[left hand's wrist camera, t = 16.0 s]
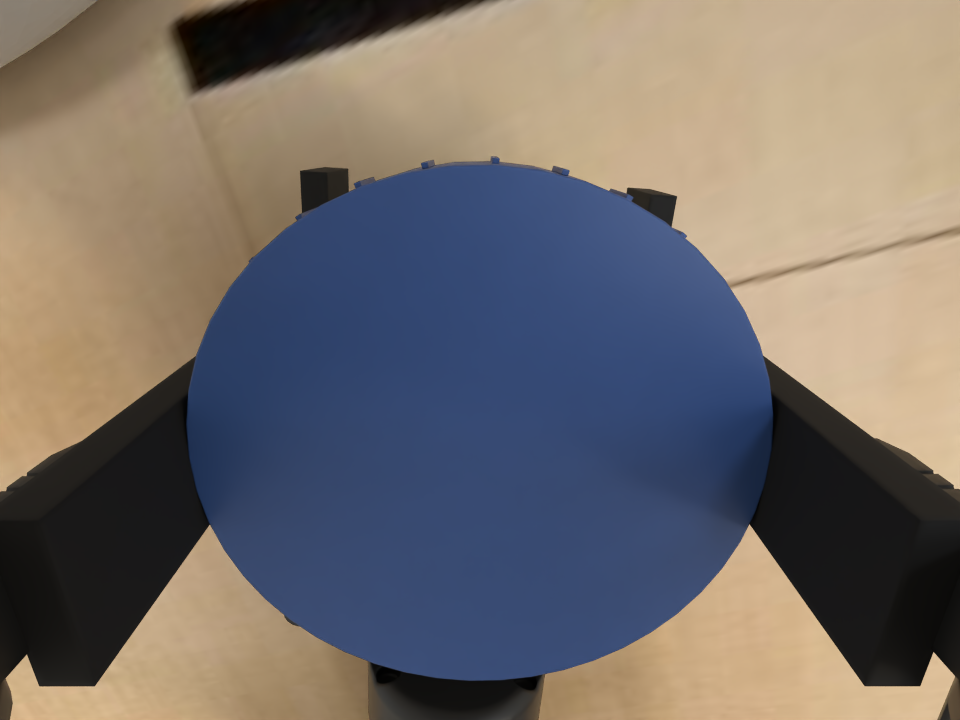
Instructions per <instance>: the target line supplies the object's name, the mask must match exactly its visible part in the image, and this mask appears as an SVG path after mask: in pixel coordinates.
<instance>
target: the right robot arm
mask: <svg viewBox="0 0 960 720" xmlns="http://www.w3.org/2000/svg"><path fill="white" fill-rule="evenodd" d="M300 178H301V199H302V213H304V212H307V211H309V210H312V209H314V208H317V207H319V206H320V205H322V204H324V203H326V202H329V201H331V200H333V199H335V198H337V197H339V196H341V195H343V194H346V193H348V192H349V186H348V169H343V168H329V167H323V168H316V169H310V170H303V171H300ZM627 194H629V195H630V196H632V197H633V199H632V202H633V203H635V204H637V205H638V206H640V207H642V208H643V209H645V210H646V211H648V212H650V213H651V214H653V215H655V216H656V217H658V218H660V219H661V220H663V221H665V222H666V223H667V224H668V225H669V226H672V221H673V215H674V210H675V205H676V199H677V196H674V195H670V194H666V193H663V192H659V191H655V190H651V189H639V188H627ZM284 616H285V615H284ZM285 618H286V620H287V621H288V622H289V623H291V624H293V625H296V626H299V625H297V624H296V623H294V622H293V621H291V620H290V619H289V618H287V617H286V616H285ZM544 676H545V674H542V675H537V676H533V677H524V678H515V679H506V680H474V681H468V680H455V679H443V678H434V677H428V676H423V675H417V674H412V673H406V672H402V671H399V670H395V669H392V668H388V667H385V666H381V665H378V664H374V663H372V662H369V661H368V699H369V720H538V718H539V711H540V704H541V697H542V690H543V683H544Z"/></svg>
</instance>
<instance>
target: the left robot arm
mask: <svg viewBox="0 0 960 720" xmlns="http://www.w3.org/2000/svg"><path fill="white" fill-rule="evenodd" d="M763 358H764V362H765V365H766V369H767V373H768V376H769V381H770V390H771V399H772V408H773V435H772V451H771V456H770V461H769V465H768V470H767V475H766V480H765V484H764V488H763V491H762V494H761V497H760V500H759V503H758V506H757V508H756V511H755V514H754V516H753V518H752V520H751V522H750V525H751V527H752V528H753V530H754V531H755V532H756V534H757V535H758V537H759V538H760V539H761V541H762V542H763V544H764V545H765V546H766V548H767V549H768V551H769V552H770V553H771V555H772V556H773V558H774V559H775V560H776V562H777V563H778V565H779V566H780V568H781V569H782V570H783V572H784V573H785V575H786V576H787V577H788V579H789V580H790V582H791V583H792V584H793V586H794V587H795V589H796V590H797V591H798V593H799V594H800V596H801V597H802V598H803V600H804V601H805V603H806V604H807V606H808V607H809V608H810V610H811V611H812V613H813V614H814V615H815V617H816V618H817V620H818V621H819V622H820V624H821V625H822V627H823V628H824V629H825V631H826V632H827V634H828V635H829V636H830V638H831V639H832V641H833V642H834V644H835V645H836V646H837V648H838V649H839V651H840V652H841V653H842V655H843V656H844V658H845V659H846V660H847V662H848V663H849V665H850V666H851V667H852V669H853V670H854V672H855V673H856V674H857V676H858V677H859V679H860V680H861V682H862V683H863V684H864V686H920V685H921V683H922V680H923V677H924V675H925V672H926V670H927V667H928V665H929V662H930V659H931V657H932V654H933V652H934V653H935V654H936V655H937V656H938V657H939V658H940V660H941V661H942V662H943V663H944V664H945V665H946V666H947V667H948V668H949V670H950V671H951V672H952V673H953V674H954V675H955V679H954V681H953V683H952V686H951V688H950V691H949V693H948V695H947V698H946V700H945V703H944V705H943V708H942V710H941V712H940V715H939V717H938V720H960V489H954V487H953V486H954V485H953V484H951V483H950V482H948V481H947V480H946V479H944V478H943V477H941V476H940V475H939V474H934V473H933V470H932V469H930V468H929V467H928V466H926V465H925V464H923V463H922V462H921V461H919V460H918V459H916V458H915V457H914V456H912V455H911V454H909V453H908V452H905V451H903V450H901V449H899V448H897V447H895V446H892V445H890V444H888V443H886V442H884V441H881V440H879V439H877V438H873V437H871V436H870V435H869V434H867V433H866V432H865V431H863V430H862V429H861V428H859V427H858V426H857V425H855V424H854V423H853V422H851V421H850V420H849V419H847V418H846V417H845V416H843V415H842V414H841V413H839V412H838V411H837V410H835V409H834V408H833V407H831V406H830V405H829V404H827V403H826V402H825V401H823V400H822V399H821V398H819V397H818V396H816V395H815V394H814V393H812V392H811V391H810V390H808V389H807V388H806V387H804V386H803V385H802V384H800V383H799V382H798V381H796V380H795V379H794V378H792V377H791V376H790V375H788V374H787V373H786V372H784V371H783V370H782V369H780V368H779V367H778V366H776V365H775V364H774V363H772V362H771V361H770V360H768V359H767V358H766V357H764V356H763ZM195 359H196V356H195V357H194V358H193V359H191V360H190V361H189V362H187V363H186V364H185V365H183V366H182V367H181V368H179V369H178V370H177V371H175V372H174V373H173V374H171V375H170V376H169V377H167V378H166V379H165V380H163V381H162V382H161V383H159V384H158V385H157V386H155V387H154V388H153V389H151V390H150V391H148V392H147V393H146V394H144V395H143V396H142V397H140V398H139V399H138V400H136V401H135V402H134V403H132V404H131V405H130V406H128V407H127V408H126V409H124V410H123V411H122V412H120V413H119V414H118V415H116V416H115V417H114V418H112V419H111V420H110V421H108V422H107V423H106V424H104V425H103V426H102V427H100V428H99V429H97V430H96V431H95V432H93V433H92V434H91V435H89V436H88V437H87V438H85V439H84V440H83V441H81V442H79V443H77V444H75V445H72V446H70V447H68V448H66V449H64V450H62V451H59V452H57V453H55V454H53V455H51V456H50V457H48V458H47V459H45V460H44V461H43V462H41V463H40V464H39V465H37V466H36V467H34V468H33V469H32V470H30V471H29V472H27V476H22V477H21V478H19V479H18V480H16V481H15V482H14V483H12V484H11V485H10V486H8V487H7V490H6V491H1V492H0V720H10V716H11V710H12V704H13V702H12V696H11V691H10V688H9V686H8V683H7V681H6V679H5V678H6V677H7V676H8V675H9V674H10V673H11V671H12V670H13V669H14V668H15V667H16V666H17V665H18V664H19V662H20V661H21V660H22V659H23V658H24V657H25V656H26V655H27V656H28V658H29V661H30V663H31V666H32V668H33V671H34V674H35V676H36V679H37V681H38V684H39V686H95V685H96V684H97V682H98V681H99V680H100V678H101V677H102V675H103V674H104V673H105V671H106V670H107V668H108V667H109V666H110V664H111V663H112V661H113V660H114V658H115V657H116V656H117V654H118V653H119V651H120V650H121V649H122V647H123V646H124V644H125V643H126V642H127V640H128V639H129V637H130V636H131V635H132V633H133V632H134V630H135V629H136V628H137V626H138V625H139V623H140V622H141V620H142V619H143V618H144V616H145V615H146V613H147V612H148V611H149V609H150V608H151V606H152V605H153V604H154V602H155V601H156V599H157V598H158V597H159V595H160V594H161V592H162V591H163V590H164V588H165V587H166V585H167V584H168V582H169V581H170V580H171V578H172V577H173V575H174V574H175V573H176V571H177V570H178V568H179V567H180V566H181V564H182V563H183V561H184V560H185V559H186V557H187V556H188V554H189V553H190V552H191V550H192V549H193V547H194V546H195V544H196V543H197V542H198V540H199V539H200V537H201V536H202V535H203V533H204V532H205V530H206V529H207V528H208V526H209V525H210V523H209V522H208V519H207V516H206V514H205V511H204V509H203V506H202V504H201V501H200V498H199V496H198V493H197V491H196V486H195V482H194V477H193V473H192V468H191V464H190V459H189V452H188V441H187V429H186V420H187V406H188V391H189V386H190V381H191V377H192V372H193V368H194V364H195Z"/></svg>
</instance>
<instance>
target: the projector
mask: <svg viewBox="0 0 960 720" xmlns="http://www.w3.org/2000/svg"><path fill="white" fill-rule="evenodd" d="M96 1H97V0H0V68H2V67H3V66H5V65H6V64H8V63H10V62H11V61H13V60H15V59H16V58H18V57H20V56H21V55H23V54H25V53H26V52H28V51H30V50H31V49H33V48H34V47H36V46H37V45H38V44H40V43H41V42H43V41H44V40H46V39H47V38H49V37H50V36H52V35H53V34H55V33H56V32H58V31H59V30H60V29H62V28H63V27H64V26H65V25H67V24H68V23H69V22H71V21H72V20H73V19H74V18H76V17H77V16H78V15H80V14H81V13H82V12H83V11H85V10H86V9H87V8H89V7H90V6H91V5H92V4H94V3H95V2H96Z"/></svg>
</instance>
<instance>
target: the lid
mask: <svg viewBox="0 0 960 720" xmlns="http://www.w3.org/2000/svg"><path fill="white" fill-rule="evenodd" d="M421 166H422V167H421V168H416V169H412V170H409V171H406V172H403V173H399V174H396V175H393V176H390V177H386V178H383V179H380V180H377V181H375V179H374V177H372V178H368V179H365V180H362V181H359V182H356V183H354V185H355V188H356V189H354V190H352V191H350V192H348V193H346V194H343V195H341V196H339V197H337V198H335V199H333V200H331V201H329V202H326V203H324V204H322V205H320V206H319V207H317V208H314V209H312V210H309V211H307V212H304V213H301V214H299V215H298V216H296V217H295V218H296V219H297V221H296V222H295V223H293V224H292V225H290V226H289V227H287V228H286V229H285V230H284V231H282V232H281V233H280V234H279V235H278V236H277V237H276V238H275V239H274V240H272V241H271V242H270V243H269V244H268V245H267V246H266V247H265V248H264V249H262V250H261V251H260V252H259V253H258V254H257V255H256V256H254V257H252V258H251V259H250V261H249V264H248V265H247V267H246V268H245V269H244V270H243V271H242V273H241V274H240V275H239V276H238V278H237V279H236V280H235V281H234V282H233V284H232V285H231V286H230V287H229V289H228V291H227V292H226V294H225V296H224V298H223V299H222V301H221V303H220V304H219V306H218V308H217V309H216V311H215V313H214V315H213V316H212V318H211V320H210V322H209V324H208V327H207V329H206V332H205V334H204V337H203V340H202V342H201V345H200V347H199V350H198V352H197V355H196V359H195V364H194V368H193V372H192V377H191V381H190V386H189V391H188V406H187V420H186V429H187V441H188V452H189V459H190V464H191V468H192V473H193V477H194V482H195V486H196V491H197V493H198V496H199V498H200V501H201V504H202V506H203V509H204V511H205V514H206V516H207V519H208V522H209V523H210V525H211V527H212V529H213V531H214V532H215V534H216V536H217V538H218V540H219V541H220V543H221V545H222V547H223V549H224V550H225V552H226V553H227V554H228V556H229V557H230V558H231V560H232V561H233V562H234V564H235V565H236V567H237V568H238V569H239V571H240V572H241V573H242V575H243V576H244V577H245V578H246V579H247V580H248V581H249V582H250V583H251V584H252V586H253V587H254V588H255V589H256V590H257V591H258V592H259V593H260V594H261V595H262V596H263V597H264V598H265V599H266V600H267V601H268V602H269V603H271V604H272V605H273V606H274V607H275V608H277V609H278V610H279V611H280V612H281V613H283V614H284V615H285V616H286V617H287V618H289V619H290V620H291V621H293V622H294V623H296V624H297V625H299V626H300V627H302V628H303V629H305V630H306V631H308V632H309V633H311V634H312V635H314V636H315V637H317V638H319V639H321V640H323V641H325V642H327V643H329V644H330V645H332V646H334V647H336V648H338V649H340V650H342V651H344V652H346V653H349V654H351V655H354V656H356V657H359V658H361V659H364V660H367V661H369V662H372V663H374V664H378V665H381V666H385V667H388V668H392V669H395V670H399V671H402V672H406V673H412V674H417V675H423V676H428V677H434V678H443V679H455V680H468V681H474V680H506V679H515V678H524V677H533V676H537V675H542V674H547V673H552V672H557V671H561V670H565V669H568V668H572V667H575V666H578V665H581V664H584V663H587V662H591V661H594V660H596V659H598V658H601V657H603V656H605V655H608V654H610V653H612V652H615V651H617V650H619V649H622V648H624V647H626V646H627V645H629V644H631V643H633V642H635V641H636V640H638V639H640V638H642V637H644V636H645V635H647V634H649V633H651V632H652V631H654V630H655V629H656V628H658V627H659V626H661V625H662V624H663V623H665V622H666V621H668V620H669V619H671V618H672V617H673V616H675V615H676V614H677V613H679V612H680V611H681V610H682V609H683V608H684V607H685V606H686V605H688V604H689V603H690V602H691V601H692V600H693V599H694V598H695V597H696V596H698V595H699V594H700V593H701V592H702V591H703V590H704V588H705V587H706V586H707V585H708V584H709V583H710V582H711V581H712V579H713V578H714V577H715V576H716V575H717V574H718V573H719V571H720V570H721V569H722V568H723V566H724V565H725V564H726V562H727V561H728V559H729V558H730V556H731V555H732V553H733V552H734V550H735V549H736V547H737V546H738V544H739V543H740V541H741V539H742V537H743V536H744V534H745V532H746V530H747V528H748V526H749V524H750V522H751V520H752V518H753V516H754V514H755V511H756V508H757V506H758V503H759V500H760V497H761V494H762V491H763V488H764V484H765V480H766V475H767V470H768V465H769V461H770V456H771V451H772V435H773V408H772V399H771V390H770V381H769V376H768V373H767V369H766V365H765V362H764V358H763V354H762V351H761V347H760V344H759V342H758V339H757V337H756V335H755V333H754V330H753V328H752V326H751V324H750V321H749V319H748V317H747V315H746V313H745V310H744V309H743V307H742V306H741V304H740V303H739V301H738V300H737V298H736V297H735V295H734V293H733V292H732V290H731V289H730V287H729V286H728V284H727V282H726V281H725V279H724V278H723V277H722V276H721V275H720V274H719V272H718V271H717V270H716V269H715V268H714V267H713V266H712V265H711V264H710V262H709V261H708V260H707V259H706V258H705V257H704V256H703V255H702V253H701V252H700V251H699V250H698V249H697V248H696V247H695V246H694V245H692V244H691V243H690V242H689V241H688V240H686V239H685V238H686V237H687V236H686V235H685V234H684V233H683V232H681V231H678V230H676V229H674V228H672V227H671V226H669V225H668V224H667V223H666V222H665V221H663V220H661V219H660V218H658V217H656V216H655V215H653V214H651V213H650V212H648V211H646V210H645V209H643V208H642V207H640V206H638V205H637V204H635V203H633V202H632V199H633V197H632V196H630V195H629V194H626V193H623V192H620V191H617V190H614V189H610V191H607V190H605V189H603V188H600V187H598V186H596V185H593V184H591V183H588V182H586V181H583V180H580V179H577V178H575V177H572V176H569V175H568V174H569V170H566V169H563V168H559V167H556V166H553V169H552V171H550V170H546V169H542V168H538V167H535V166H529V165H521V164H512V163H504V162H499V158H498V157H494V156H491V161H483V162H452V163H446V164H440V165H435V164H434V160H430V161H426V162H423V163H421Z"/></svg>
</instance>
